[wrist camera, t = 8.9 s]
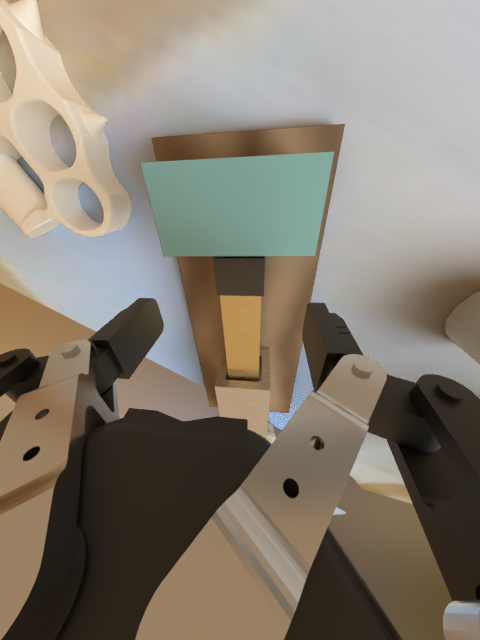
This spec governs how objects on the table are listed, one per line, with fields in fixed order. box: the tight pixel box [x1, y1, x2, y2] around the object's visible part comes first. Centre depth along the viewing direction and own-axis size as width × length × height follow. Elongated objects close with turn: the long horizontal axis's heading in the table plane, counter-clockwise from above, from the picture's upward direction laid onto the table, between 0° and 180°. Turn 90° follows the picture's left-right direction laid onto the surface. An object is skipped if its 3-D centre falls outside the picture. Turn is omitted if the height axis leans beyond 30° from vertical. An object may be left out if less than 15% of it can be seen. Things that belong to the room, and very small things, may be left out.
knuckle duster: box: [0, 0, 131, 238], centre depth 16 cm, size 3×18×15 cm
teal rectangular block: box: [140, 152, 334, 256], centre depth 14 cm, size 10×5×6 cm, turn 92°
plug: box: [213, 256, 265, 382], centre depth 20 cm, size 4×22×4 cm, turn 2°
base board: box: [152, 124, 345, 413], centre depth 25 cm, size 14×36×2 cm, turn 2°
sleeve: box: [215, 348, 271, 439], centre depth 27 cm, size 6×14×6 cm, turn 2°
